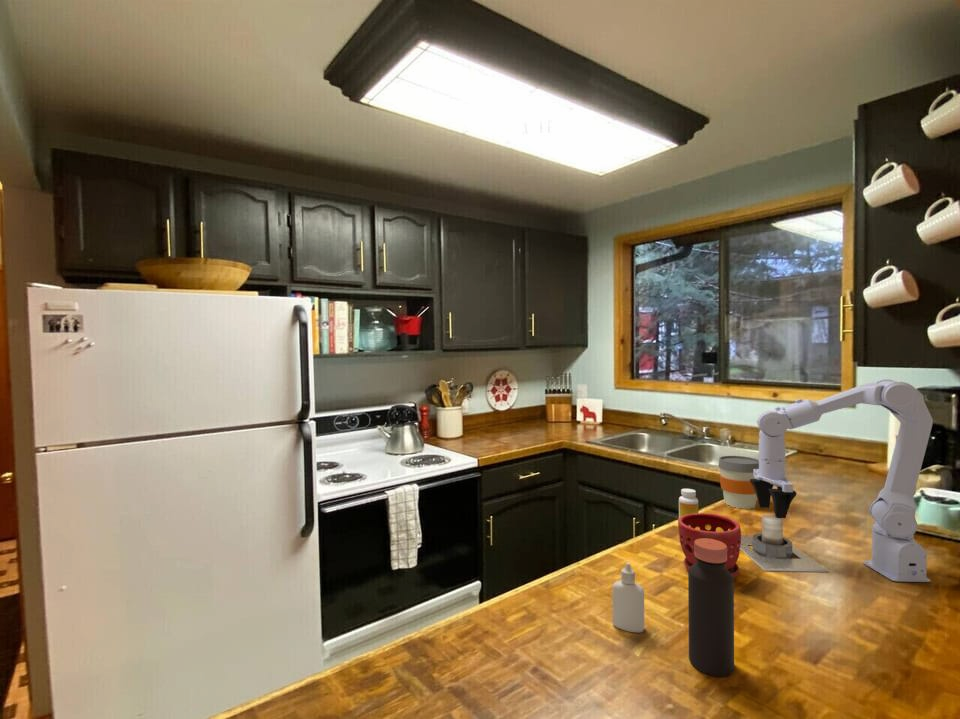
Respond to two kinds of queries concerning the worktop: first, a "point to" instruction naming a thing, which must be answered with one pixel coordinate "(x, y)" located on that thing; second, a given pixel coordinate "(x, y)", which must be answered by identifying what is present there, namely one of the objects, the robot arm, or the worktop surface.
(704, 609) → the dark water bottle
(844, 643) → the worktop surface
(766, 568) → the collar stand
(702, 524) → the plant pot
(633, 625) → the eye dropper bottle
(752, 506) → the reusable coffee cup
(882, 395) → the robot arm
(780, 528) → the peg
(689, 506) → the supplement bottle
